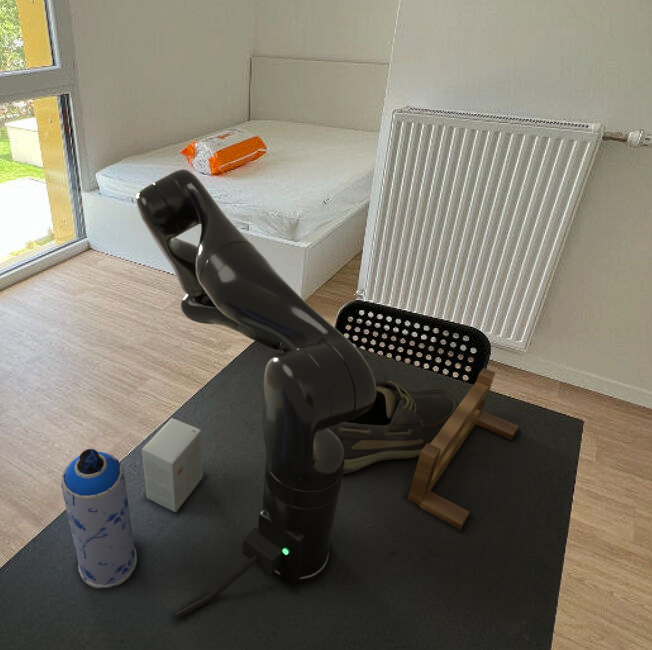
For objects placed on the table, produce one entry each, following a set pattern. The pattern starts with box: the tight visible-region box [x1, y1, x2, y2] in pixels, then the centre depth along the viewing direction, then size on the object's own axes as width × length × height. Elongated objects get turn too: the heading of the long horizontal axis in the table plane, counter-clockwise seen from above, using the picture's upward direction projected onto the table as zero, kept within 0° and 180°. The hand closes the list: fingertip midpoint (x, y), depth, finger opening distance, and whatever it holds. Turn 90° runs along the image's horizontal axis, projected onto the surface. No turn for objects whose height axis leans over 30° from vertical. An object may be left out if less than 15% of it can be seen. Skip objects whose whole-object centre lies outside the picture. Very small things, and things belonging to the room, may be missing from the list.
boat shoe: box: [328, 380, 459, 475], centre depth 88 cm, size 11×29×11 cm, turn 115°
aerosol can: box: [60, 448, 138, 590], centre depth 67 cm, size 8×8×20 cm
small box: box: [141, 417, 204, 513], centre depth 80 cm, size 8×6×10 cm
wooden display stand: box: [407, 367, 519, 531], centre depth 84 cm, size 27×8×10 cm, turn 138°
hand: (343, 357), depth 95 cm, fingers closed
